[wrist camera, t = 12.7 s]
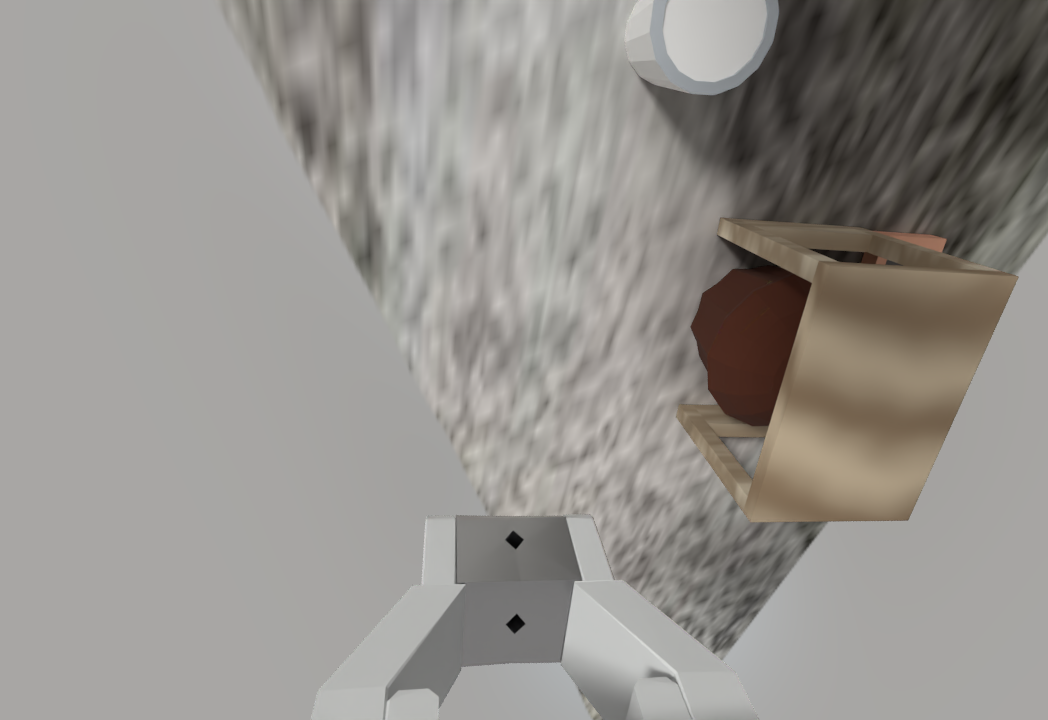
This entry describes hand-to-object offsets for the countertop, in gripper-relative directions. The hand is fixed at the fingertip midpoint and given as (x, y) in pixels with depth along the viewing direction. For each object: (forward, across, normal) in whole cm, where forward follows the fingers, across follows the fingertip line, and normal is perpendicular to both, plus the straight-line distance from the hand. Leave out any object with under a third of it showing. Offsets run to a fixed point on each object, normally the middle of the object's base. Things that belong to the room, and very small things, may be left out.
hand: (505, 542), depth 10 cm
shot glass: (+31, +12, +12) cm, 36 cm away
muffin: (+31, +22, -6) cm, 39 cm away
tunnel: (+31, +24, -7) cm, 40 cm away
